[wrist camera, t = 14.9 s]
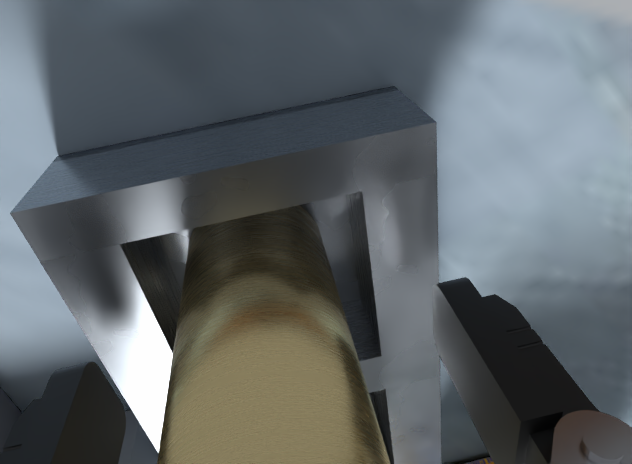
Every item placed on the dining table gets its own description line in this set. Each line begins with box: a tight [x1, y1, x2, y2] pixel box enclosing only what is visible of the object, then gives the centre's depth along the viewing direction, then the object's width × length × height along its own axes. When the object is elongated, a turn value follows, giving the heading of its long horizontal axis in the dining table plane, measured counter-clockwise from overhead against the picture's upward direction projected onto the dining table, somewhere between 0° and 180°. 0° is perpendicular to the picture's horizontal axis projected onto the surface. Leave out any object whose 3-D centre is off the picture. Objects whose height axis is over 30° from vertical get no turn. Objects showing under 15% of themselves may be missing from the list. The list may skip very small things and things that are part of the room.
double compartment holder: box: [10, 86, 441, 464], centre depth 15 cm, size 15×9×3 cm, turn 9°
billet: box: [157, 205, 390, 464], centre depth 10 cm, size 4×4×8 cm
